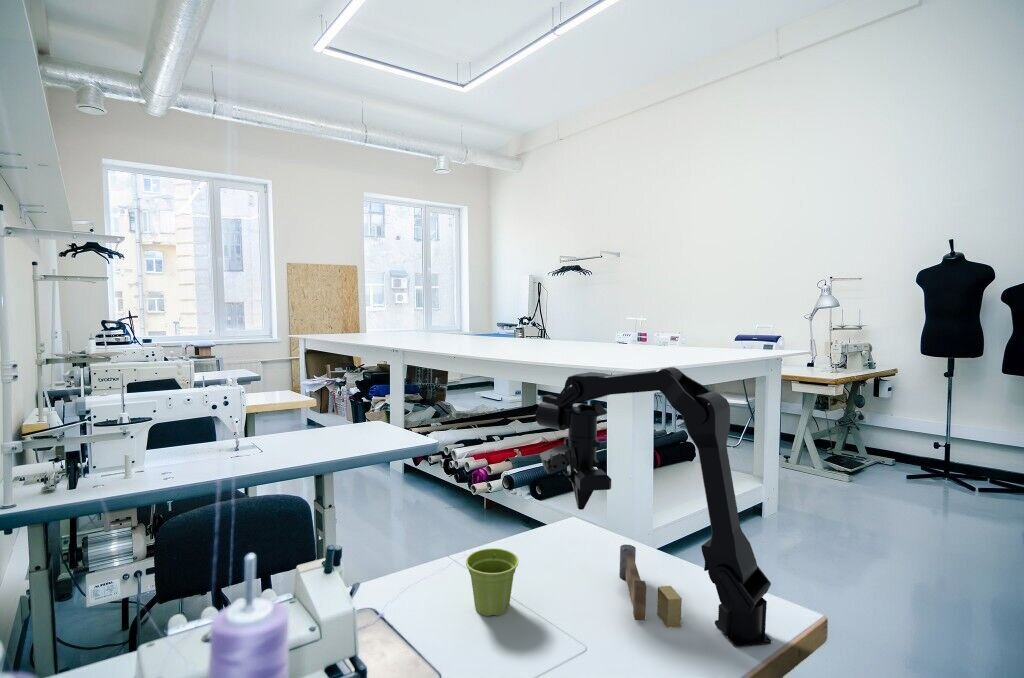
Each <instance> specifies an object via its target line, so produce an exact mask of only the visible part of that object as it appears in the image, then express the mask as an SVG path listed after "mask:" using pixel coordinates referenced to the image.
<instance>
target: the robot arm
mask: <svg viewBox="0 0 1024 678" xmlns="http://www.w3.org/2000/svg"><path fill="white" fill-rule="evenodd" d="M657 391H659V392H660V393H661V394H662V395H664V397H665V399H666V400H667V402H668V403H669V404H670V405H671V407H672V408H673V409H674V410H675V411H676V412H677V413H679V414H680V415H681V416H682V418H683V422H684V425H685V428H686V431H687V433H688V436H689V437H690V439H691V440H692V442H693V443H694V445H695V447H696V448H697V451H698V457H699V463H700V469H701V470H700V471H701V474H702V481H703V487H704V493H705V499H706V505H707V510H708V511H707V512H708V517H709V523H710V528H711V537H710V538H709V539H708V540H707V541H705V543H703V544H702V545H701V546H700V547H701V553H702V556H703V560H704V568H703V571H704V572H707V574H708V577H709V579H710V581H711V583H712V584H714V585H715V590H716V592H717V595H718V596H717V597H718V599H719V604H718V613H717V614H718V618H717V619H716V620H714V625H715V626H716V628H717V629H719V630H720V632H721V633H722V634H723V635H724V636H725V637H726V638H727V639H728V641H729V642H731V644H732V645H733V646H734V647H736V648H743V647H752V646H761V645H762V646H763V645H769V644H772V639H771V638H770V637H769V636H768V634H766V625H767V624H766V621H767V608H768V607H767V606H768V605H767V604H768V601H767V600H766V599H764V596H765V595H766V594H767V593H768V591H769V589H770V587H771V585H772V582H771V581H770V580H769V579H768V577H767V576H766V575H765V573H764V571H762V569H761V568H760V567H759V565H758V564H757V562H758V561H757V559H756V556H755V553H754V551H753V547H752V545H751V542H750V541H749V540H748V537H746V535H745V534H744V532H743V530H742V527H741V523H740V517H739V511H738V504H737V499H736V494H735V488H734V482H733V476H732V471H731V465H730V459H729V453H728V447H727V444H728V438H729V433H730V429H731V406H730V403H729V400H727V398H726V397H724V396H723V395H722V394H720V393H718V392H715V391H713V392H712V391H711V390H710V389H709V388H708V387H706V386H704V384H702V383H700V382H698V381H696V380H694V379H692V378H691V377H689V376H688V375H686V374H685V373H684V372H683V371H681V370H680V369H679V368H676V367H674V366H670V367H665V368H660V369H656V370H646V371H637V372H629V373H627V372H626V373H621V374H608V373H604V372H593V371H590V372H589V371H588V372H582V373H577V374H571V375H569V376H568V377H567V378H566V381H565V384H564V387H563V388H562V390H561V391H560V393H559V395H557V396H555V395H552V394H545V395H542V397H541V399H542V400H541V402H540V403H539V404H538V406H537V408H536V411H535V419H536V423H537V425H539V426H541V427H545V428H546V427H547V428H550V429H554V430H558V431H559V430H560V431H566V430H567V429H568V433H567V434H568V436H565V438H564V439H563V444H562V445H559V446H554V447H552V448H551V449H547V450H545V451H543V452H541V453H539V457H540V460H541V462H542V466H543V468H544V470H545V471H546V473H547V474H548V475H552V474H555V473H556V472H558V471H560V470H562V469H566V470H564V471H563V474H564V475H565V476H566V477H567V479H568V480H569V481H570V482H571V485H572V489H573V494H574V497H575V498H574V499H575V502H576V507H577V509H578V510H579V511H582V510H584V509H585V507H586V505H588V504H587V503H588V502H589V500H590V499H591V496H592V495H593V492H594V491H606V490H607V491H608V490H611V489H612V478H611V477H610V476H609V475H608V474H607V473H606V472H605V471H603V470H604V469H602V468H599V467H600V461H599V460H598V459H597V448H600V446H601V445H600V443H601V442H600V440H598V438H597V435H598V433H597V431H598V429H597V428H598V417H601V416H605V415H607V414H608V411H607V410H606V409H605V408H604V407H603V406H602V405H601V403H600V402H594V403H592V404H586V403H585V402H589V401H594V400H598V399H601V398H604V397H607V396H611V395H620V394H622V395H623V394H633V393H644V392H657ZM575 404H578V405H577V406H575ZM596 468H597V469H596Z"/></svg>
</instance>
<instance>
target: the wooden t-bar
mask: <svg viewBox="0 0 1024 678" xmlns="http://www.w3.org/2000/svg"><path fill="white" fill-rule="evenodd" d="M626 585H627V588H628V593H629V597H630V601H631V605H632V614H633V619H634V621H646V612H647V610H646V609H647V607H646V606H647V585H646V581H645V580H641V576H640V574H639V571H638V567H637V564H636V559H635V560H634V557H633V554H626Z"/></svg>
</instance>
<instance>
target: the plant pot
mask: <svg viewBox="0 0 1024 678" xmlns="http://www.w3.org/2000/svg"><path fill="white" fill-rule="evenodd" d="M519 562H520V561H519V558H518V556H517V555H516V554H515V553H513V552H511V550H510V551H509V550H507V549H504V548H494V547H491V548H490V547H489V548H482V549H479V550H476V551H474V552H472V553H470V554H469V555H468V556H467V557H466V558H465V565H466V568H467V569H468V573H469V575H470V579H471V587H472V595H473V603H474V607H475V610H476V612H478V613H479V614H481V615H483V616H486V617H489V616H491V615H495V616H497V617H498V616H501V615H503V614H505V613H507V611H508V610H509V608H510V602H511V595H512V591H513V590H512V589H513V582H514V575H515V574H516V568H518V566H519Z"/></svg>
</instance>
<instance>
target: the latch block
mask: <svg viewBox="0 0 1024 678" xmlns="http://www.w3.org/2000/svg"><path fill="white" fill-rule="evenodd" d="M682 601H683V599H682V597H681V596H680V594H679V593H677V591H676V590H675V589H674V587H673V586H672V585H664V586H663V585H662V586H661V585H660V586H657V603H656V607H657V608H656V615H657V616H658V617H659V619H660V620H661V622H662V623H663V625H664V626H665V627H666V628H667V629H672V628H680V627H681V626H682V625H681V624H682V603H683V602H682Z"/></svg>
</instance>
